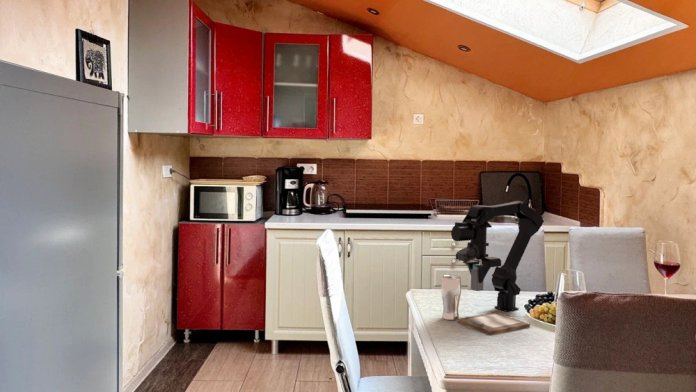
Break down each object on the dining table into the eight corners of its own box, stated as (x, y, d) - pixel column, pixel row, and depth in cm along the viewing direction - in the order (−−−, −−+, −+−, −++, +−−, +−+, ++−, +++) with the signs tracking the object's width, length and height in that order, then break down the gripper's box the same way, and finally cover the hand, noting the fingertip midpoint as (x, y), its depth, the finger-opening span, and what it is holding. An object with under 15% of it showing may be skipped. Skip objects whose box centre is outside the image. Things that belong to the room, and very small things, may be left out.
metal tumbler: (460, 321, 201) (461, 279, 200) (440, 320, 203) (441, 278, 201) (460, 316, 208) (461, 275, 207) (441, 315, 209) (442, 274, 208)
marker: (477, 288, 214) (478, 263, 214) (483, 290, 211) (484, 265, 211) (470, 289, 213) (470, 264, 212) (476, 291, 210) (477, 266, 209)
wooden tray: (496, 315, 209) (496, 309, 209) (529, 327, 195) (530, 320, 195) (457, 322, 201) (457, 316, 200) (490, 335, 187) (490, 328, 186)
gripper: (444, 237, 215) (443, 279, 216) (479, 245, 199) (477, 289, 200) (467, 236, 220) (466, 276, 221) (503, 242, 204) (501, 286, 205)
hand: (477, 282), depth 212 cm, fingers closed on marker, 3 cm apart
